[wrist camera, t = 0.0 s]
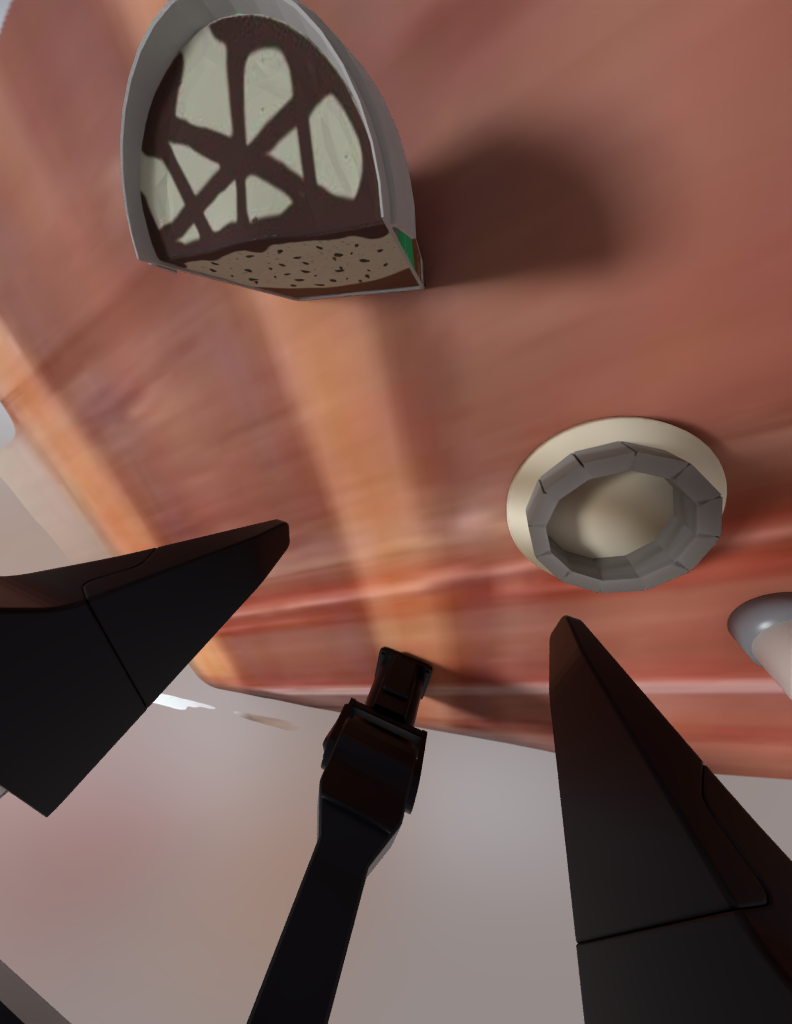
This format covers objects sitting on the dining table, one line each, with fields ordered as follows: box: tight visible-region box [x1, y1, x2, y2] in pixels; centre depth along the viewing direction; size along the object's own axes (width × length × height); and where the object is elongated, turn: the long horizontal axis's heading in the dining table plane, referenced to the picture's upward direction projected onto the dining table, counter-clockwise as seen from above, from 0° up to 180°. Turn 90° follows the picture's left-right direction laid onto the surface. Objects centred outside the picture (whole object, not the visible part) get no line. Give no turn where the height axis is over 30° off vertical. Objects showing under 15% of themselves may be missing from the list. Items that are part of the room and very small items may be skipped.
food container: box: [120, 0, 425, 301], centre depth 13 cm, size 12×6×10 cm, turn 91°
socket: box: [507, 416, 727, 593], centre depth 19 cm, size 12×12×4 cm
